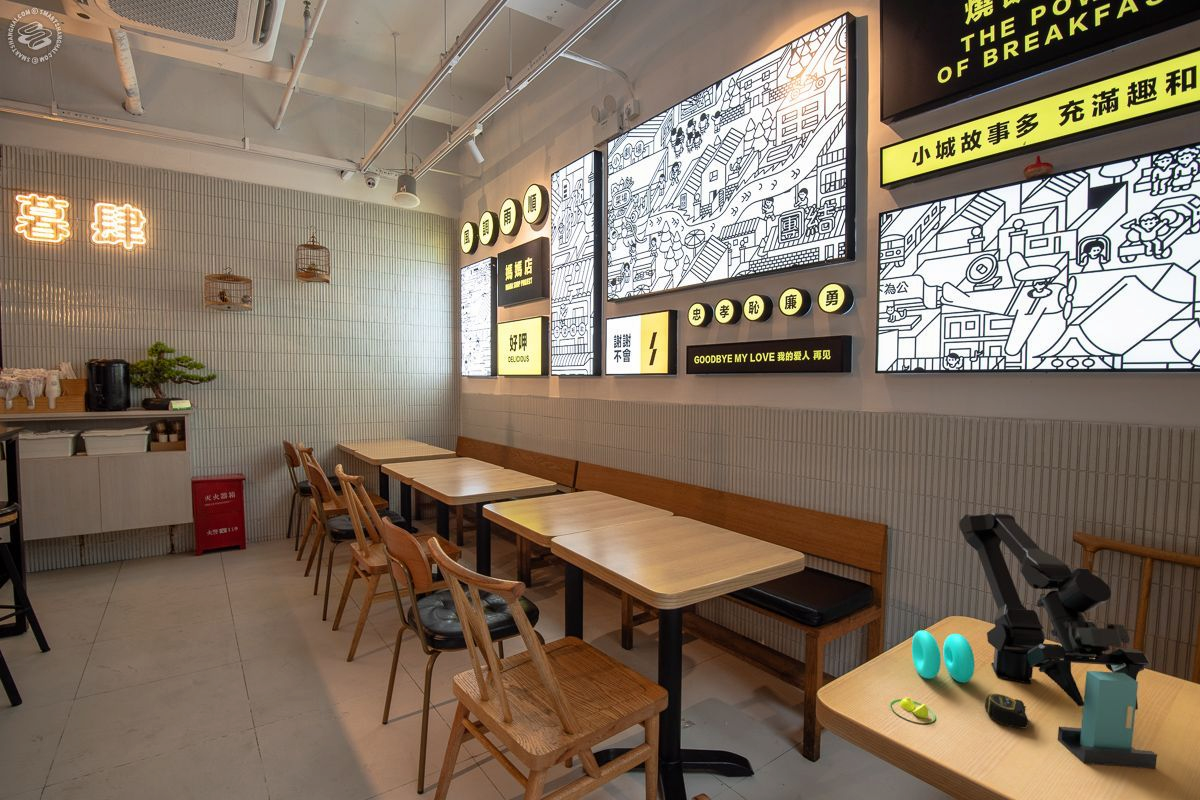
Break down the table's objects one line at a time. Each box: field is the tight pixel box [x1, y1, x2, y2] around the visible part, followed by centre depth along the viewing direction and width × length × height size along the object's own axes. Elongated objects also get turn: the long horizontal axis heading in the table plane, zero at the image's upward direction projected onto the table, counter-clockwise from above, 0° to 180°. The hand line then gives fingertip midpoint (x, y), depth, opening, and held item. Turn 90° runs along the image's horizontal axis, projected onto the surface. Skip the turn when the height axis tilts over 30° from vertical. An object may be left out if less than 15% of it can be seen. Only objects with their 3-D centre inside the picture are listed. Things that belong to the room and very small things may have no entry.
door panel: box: [1080, 670, 1139, 749], centre depth 105 cm, size 3×6×14 cm, turn 86°
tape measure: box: [984, 693, 1029, 729], centre depth 115 cm, size 7×7×4 cm
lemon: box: [890, 696, 937, 724], centre depth 116 cm, size 8×8×3 cm
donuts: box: [911, 630, 975, 683], centre depth 130 cm, size 10×10×10 cm
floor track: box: [1057, 726, 1158, 770], centre depth 105 cm, size 6×12×3 cm, turn 86°
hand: (1108, 707), depth 105 cm, fingers open, 9 cm apart
